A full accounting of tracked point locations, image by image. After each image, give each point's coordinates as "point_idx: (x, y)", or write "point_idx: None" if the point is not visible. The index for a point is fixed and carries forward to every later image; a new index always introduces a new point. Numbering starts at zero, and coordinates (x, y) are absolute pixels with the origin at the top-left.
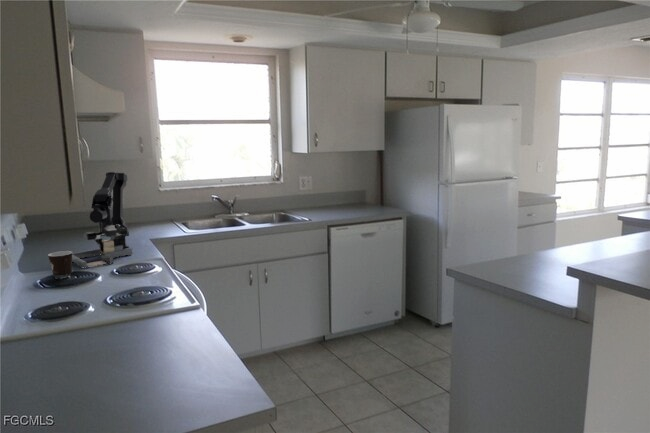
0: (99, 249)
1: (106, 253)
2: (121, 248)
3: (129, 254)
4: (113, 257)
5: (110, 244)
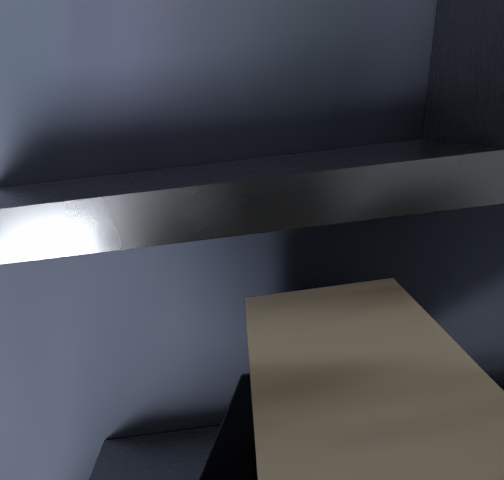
0: None
1: (464, 151)
2: (111, 475)
3: (32, 185)
4: (299, 154)
5: (350, 438)
